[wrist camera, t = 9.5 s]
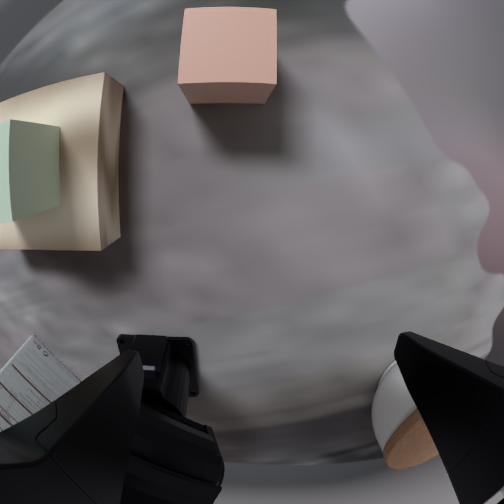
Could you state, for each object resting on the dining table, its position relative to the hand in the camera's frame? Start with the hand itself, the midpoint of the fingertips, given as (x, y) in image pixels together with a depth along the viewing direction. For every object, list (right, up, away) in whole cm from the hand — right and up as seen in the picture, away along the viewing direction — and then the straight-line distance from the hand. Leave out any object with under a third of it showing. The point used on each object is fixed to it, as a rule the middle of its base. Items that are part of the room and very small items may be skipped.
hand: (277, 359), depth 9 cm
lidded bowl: (+16, -10, +17) cm, 26 cm away
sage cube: (-15, +9, +5) cm, 18 cm away
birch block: (-16, +10, +9) cm, 20 cm away
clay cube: (-2, +16, +8) cm, 18 cm away
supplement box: (-23, -9, +14) cm, 28 cm away
